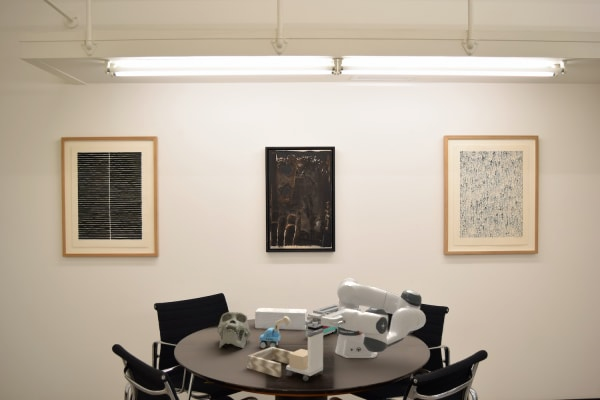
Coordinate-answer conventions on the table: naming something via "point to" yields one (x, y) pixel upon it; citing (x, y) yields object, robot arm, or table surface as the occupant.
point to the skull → (234, 329)
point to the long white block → (272, 315)
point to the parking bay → (268, 360)
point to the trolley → (308, 357)
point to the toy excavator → (273, 334)
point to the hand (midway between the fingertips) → (324, 314)
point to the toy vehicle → (316, 321)
